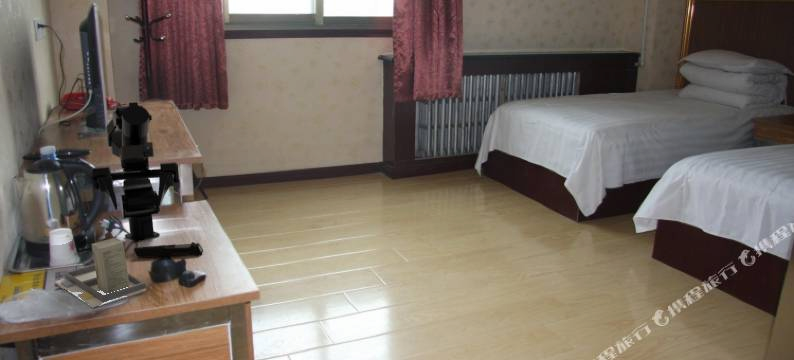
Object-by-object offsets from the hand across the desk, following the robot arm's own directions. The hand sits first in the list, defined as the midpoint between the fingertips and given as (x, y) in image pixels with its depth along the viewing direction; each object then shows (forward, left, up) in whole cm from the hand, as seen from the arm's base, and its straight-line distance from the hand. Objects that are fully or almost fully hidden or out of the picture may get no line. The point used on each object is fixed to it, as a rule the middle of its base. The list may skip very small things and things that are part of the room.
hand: (137, 207), depth 142 cm
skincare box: (+10, -12, -13) cm, 20 cm away
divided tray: (+6, -13, -14) cm, 20 cm away
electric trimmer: (0, +7, -14) cm, 16 cm away
